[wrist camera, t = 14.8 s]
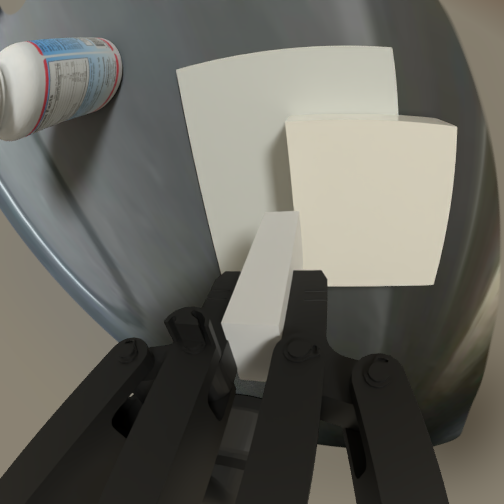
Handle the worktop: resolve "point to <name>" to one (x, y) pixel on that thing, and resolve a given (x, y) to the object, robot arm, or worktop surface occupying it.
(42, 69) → the pill bottle
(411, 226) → the cream rectangular block
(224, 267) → the mat
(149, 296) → the worktop surface
